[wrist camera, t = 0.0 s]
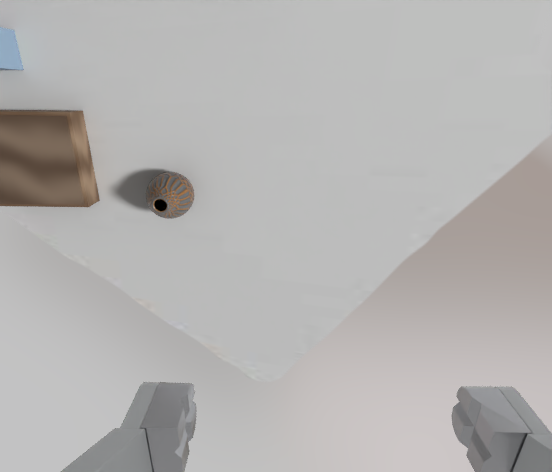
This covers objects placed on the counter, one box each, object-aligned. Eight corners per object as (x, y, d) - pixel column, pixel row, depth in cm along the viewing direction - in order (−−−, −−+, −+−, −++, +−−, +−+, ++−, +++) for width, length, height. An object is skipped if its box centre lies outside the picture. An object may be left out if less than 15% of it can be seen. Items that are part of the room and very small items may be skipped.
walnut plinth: (-11, 109, 53) (-32, 111, 50) (82, 110, 53) (68, 112, 50) (15, 199, 59) (-3, 206, 55) (99, 200, 59) (87, 207, 55)
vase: (147, 179, 57) (125, 193, 49) (184, 161, 56) (168, 173, 48) (169, 215, 60) (152, 235, 51) (205, 199, 58) (193, 216, 50)
